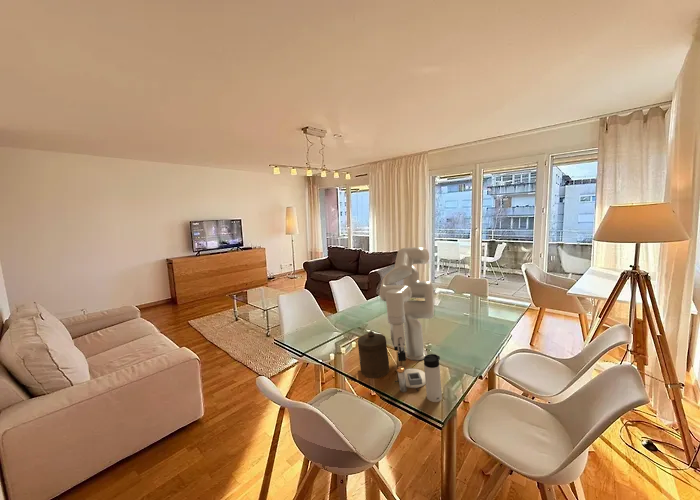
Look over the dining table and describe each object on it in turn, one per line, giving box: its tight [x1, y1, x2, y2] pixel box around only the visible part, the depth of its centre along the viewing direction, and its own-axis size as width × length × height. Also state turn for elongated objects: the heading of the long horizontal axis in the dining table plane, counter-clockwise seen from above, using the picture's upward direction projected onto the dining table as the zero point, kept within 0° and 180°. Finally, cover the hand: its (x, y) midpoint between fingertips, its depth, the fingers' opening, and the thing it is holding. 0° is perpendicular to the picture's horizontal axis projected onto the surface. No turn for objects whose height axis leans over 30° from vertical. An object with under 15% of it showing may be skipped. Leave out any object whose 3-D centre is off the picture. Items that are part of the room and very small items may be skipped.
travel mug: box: [423, 353, 443, 403], centre depth 119 cm, size 6×7×20 cm
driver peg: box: [396, 366, 408, 393], centre depth 126 cm, size 3×3×11 cm
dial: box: [404, 368, 426, 389], centre depth 134 cm, size 13×13×4 cm
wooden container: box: [357, 331, 390, 379], centre depth 145 cm, size 15×15×22 cm
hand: (399, 355), depth 125 cm, fingers open, 9 cm apart
